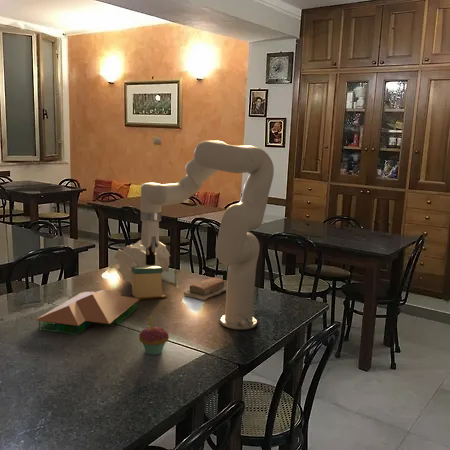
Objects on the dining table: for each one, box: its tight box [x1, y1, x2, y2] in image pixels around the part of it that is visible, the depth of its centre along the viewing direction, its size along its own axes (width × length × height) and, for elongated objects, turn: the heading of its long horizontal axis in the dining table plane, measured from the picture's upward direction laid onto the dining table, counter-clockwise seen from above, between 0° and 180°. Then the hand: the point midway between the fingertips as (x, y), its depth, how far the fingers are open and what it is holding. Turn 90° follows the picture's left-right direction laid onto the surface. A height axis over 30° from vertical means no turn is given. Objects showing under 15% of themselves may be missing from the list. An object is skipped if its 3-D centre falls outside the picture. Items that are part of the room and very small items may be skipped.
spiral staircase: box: [114, 239, 171, 286], centre depth 215 cm, size 18×18×25 cm
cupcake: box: [138, 315, 170, 356], centre depth 146 cm, size 9×8×12 cm
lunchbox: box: [131, 266, 163, 298], centre depth 195 cm, size 11×10×8 cm
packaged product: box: [182, 276, 227, 301], centre depth 203 cm, size 18×5×10 cm
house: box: [35, 289, 141, 335], centre depth 171 cm, size 23×33×8 cm
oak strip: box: [130, 294, 167, 301], centre depth 193 cm, size 2×14×1 cm, turn 111°
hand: (150, 264), depth 189 cm, fingers closed
